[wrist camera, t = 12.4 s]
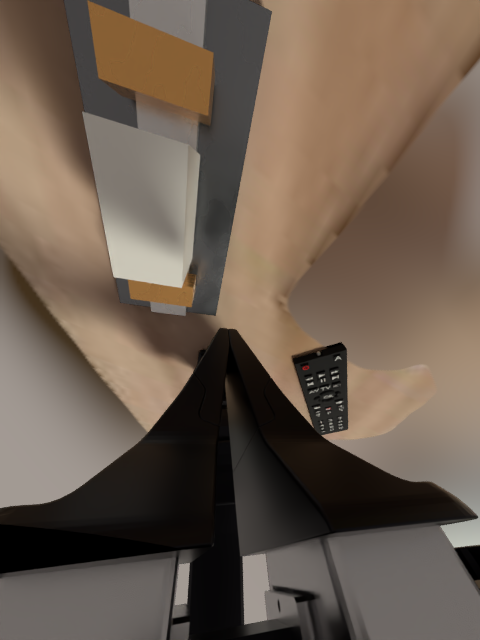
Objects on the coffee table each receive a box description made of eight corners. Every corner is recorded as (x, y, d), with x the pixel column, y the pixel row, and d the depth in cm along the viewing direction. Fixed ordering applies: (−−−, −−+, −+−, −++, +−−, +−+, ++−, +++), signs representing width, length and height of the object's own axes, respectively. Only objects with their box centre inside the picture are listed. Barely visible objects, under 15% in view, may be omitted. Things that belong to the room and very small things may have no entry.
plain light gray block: (192, 258, 16) (181, 288, 12) (143, 248, 16) (113, 277, 11) (200, 155, 12) (188, 144, 8) (134, 134, 11) (82, 111, 7)
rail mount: (215, 310, 22) (214, 335, 19) (124, 297, 20) (104, 322, 17) (268, 23, 10) (290, -49, 7) (61, -74, 8) (-45, -239, 5)
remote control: (341, 340, 28) (348, 350, 26) (344, 422, 47) (349, 431, 46) (291, 355, 29) (295, 365, 28) (314, 429, 48) (317, 437, 47)
